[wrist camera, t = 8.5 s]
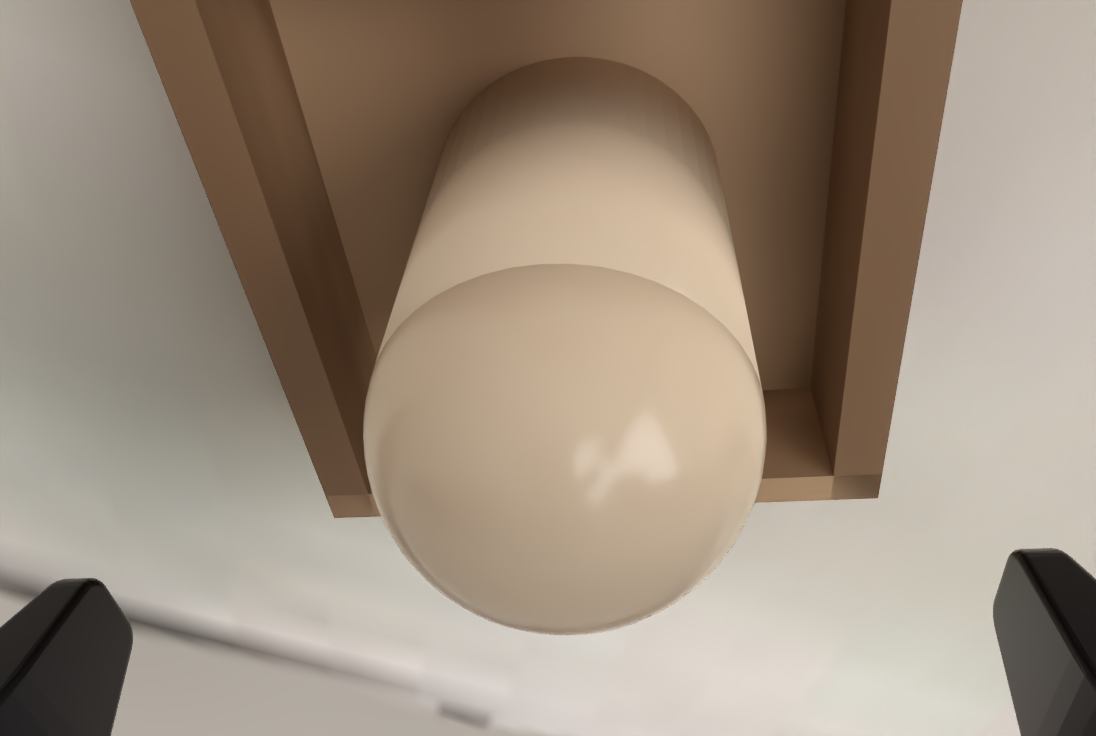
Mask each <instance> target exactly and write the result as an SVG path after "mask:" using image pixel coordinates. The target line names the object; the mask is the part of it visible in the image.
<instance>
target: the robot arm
mask: <svg viewBox="0 0 1096 736" xmlns="http://www.w3.org/2000/svg"><path fill="white" fill-rule="evenodd" d="M993 619H994V626H995V631H996V635H997V639H998V643H999V647H1000V651H1001V655H1002V659H1003V663H1004V667H1005V672H1006V676H1007V680H1008V684H1009V688H1010V692H1011V696H1012V700H1013V704H1014V709H1015V713H1016V717H1017V721H1018V725H1019V729H1020V733H1021V736H1096V579H1095V578H1094V577H1093V576H1092V575H1091V574H1090V573H1088V572H1087V571H1086V570H1085V569H1084V568H1083V567H1082V566H1081V565H1079V564H1078V563H1077V562H1076V561H1075V560H1074V559H1073V558H1071V557H1070V556H1069V555H1068V554H1066V553H1065V552H1063V551H1061V550H1058V549H1053V548H1043V549H1019V550H1015V551H1014V552H1012V553H1011V554H1010V556H1009V558H1008V560H1007V563H1006V566H1005V569H1004V572H1003V575H1002V578H1001V581H1000V584H999V588H998V591H997V594H996V597H995V600H994V605H993ZM132 644H133V633H132V627H131V624H130V622H129V620H128V619H127V617H126V616H125V614H124V613H123V611H122V610H121V608H120V607H119V605H118V604H117V602H116V601H115V599H114V598H113V597H112V595H111V594H110V592H109V591H108V589H107V588H106V586H105V585H104V584H103V583H102V582H101V581H99V580H97V579H94V578H81V579H63V580H59V581H56V582H55V583H53V584H51V585H50V586H49V587H47V588H46V589H45V590H44V591H42V592H41V593H40V594H39V595H38V596H37V597H35V598H34V599H33V600H32V601H31V602H30V603H28V604H27V605H26V606H25V607H24V608H22V609H21V610H20V611H19V612H18V613H17V614H15V615H14V616H13V617H12V618H11V619H10V620H8V621H7V622H6V623H5V624H4V625H3V626H1V627H0V736H111V732H112V728H113V724H114V720H115V716H116V711H117V708H118V703H119V699H120V695H121V691H122V687H123V683H124V679H125V674H126V670H127V666H128V662H129V658H130V653H131V650H132Z"/></svg>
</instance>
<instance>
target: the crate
mask: <svg viewBox="0 0 1096 736" xmlns="http://www.w3.org/2000/svg"><path fill="white" fill-rule="evenodd" d="M962 1H963V0H130V2H131V4H132V7H133V9H134V12H135V15H136V17H137V20H138V22H139V25H140V27H141V30H142V32H143V35H144V37H145V40H146V42H147V45H148V47H149V50H150V52H151V55H152V58H153V60H154V63H155V65H156V68H157V70H158V73H159V75H160V78H161V80H162V83H163V85H164V88H165V90H166V93H167V96H168V98H169V101H170V103H171V106H172V108H173V111H174V113H175V116H176V118H177V121H178V123H179V126H180V128H181V131H182V133H183V136H184V139H185V141H186V144H187V146H188V149H189V151H190V154H191V156H192V159H193V161H194V164H195V166H196V169H197V171H198V174H199V177H200V179H201V182H202V184H203V187H204V189H205V192H206V194H207V197H208V199H209V202H210V204H211V207H212V209H213V212H214V214H215V217H216V220H217V222H218V225H219V227H220V230H221V232H222V235H223V237H224V240H225V242H226V245H227V247H228V250H229V252H230V255H231V258H232V260H233V263H234V265H235V268H236V270H237V273H238V275H239V278H240V280H241V283H242V285H243V288H244V290H245V293H246V295H247V298H248V301H249V303H250V306H251V308H252V311H253V313H254V316H255V318H256V321H257V323H258V326H259V328H260V331H261V333H262V336H263V339H264V341H265V344H266V346H267V349H268V351H269V354H270V356H271V359H272V361H273V364H274V366H275V369H276V371H277V374H278V376H279V379H280V382H281V384H282V387H283V389H284V392H285V394H286V397H287V399H288V402H289V404H290V407H291V409H292V412H293V414H294V417H295V420H296V422H297V425H298V427H299V430H300V432H301V435H302V437H303V440H304V442H305V445H306V447H307V450H308V452H309V455H310V457H311V460H312V463H313V465H314V468H315V470H316V473H317V475H318V478H319V480H320V483H321V485H322V488H323V490H324V493H325V495H326V498H327V500H328V503H329V506H330V508H331V511H332V513H333V516H334V518H344V517H372V516H381V514H380V512H379V510H378V507H377V505H376V502H375V499H374V497H373V494H372V491H371V487H370V483H369V479H368V474H367V468H366V463H365V457H364V443H363V422H364V411H365V402H366V397H367V392H368V387H369V383H370V379H371V376H372V373H373V369H374V366H375V363H376V360H377V357H378V353H379V350H380V347H381V344H382V341H383V338H384V335H385V331H386V328H387V325H388V322H389V319H390V316H391V313H392V309H393V306H394V303H395V300H396V297H397V294H398V291H399V288H400V284H401V281H402V278H403V275H404V272H405V269H406V266H407V262H408V259H409V256H410V253H411V250H412V247H413V244H414V241H415V237H416V234H417V231H418V228H419V225H420V222H421V219H422V215H423V212H424V209H425V206H426V203H427V200H428V197H429V194H430V190H431V187H432V184H433V181H434V178H435V175H436V172H437V168H438V165H439V162H440V159H441V156H442V153H443V150H444V146H445V143H446V140H447V138H448V136H449V134H450V132H451V130H452V128H453V126H454V124H455V122H456V121H457V119H458V118H459V116H460V115H461V113H462V112H463V110H464V109H465V108H466V107H467V106H468V105H469V104H470V103H471V101H472V100H473V99H474V98H475V97H476V96H477V95H478V94H480V93H481V92H482V91H483V90H484V89H486V88H487V87H488V86H489V85H490V84H492V83H493V82H495V81H497V80H498V79H500V78H501V77H503V76H505V75H506V74H508V73H511V72H513V71H515V70H517V69H520V68H522V67H524V66H527V65H530V64H534V63H537V62H540V61H544V60H550V59H556V58H563V57H591V58H601V59H607V60H611V61H615V62H620V63H624V64H626V65H629V66H632V67H634V68H637V69H640V70H642V71H644V72H646V73H648V74H650V75H651V76H653V77H655V78H657V79H659V80H660V81H662V82H663V83H665V84H666V85H667V86H669V87H670V88H671V89H673V90H674V91H675V92H676V93H677V94H678V95H679V96H681V97H682V98H683V99H684V100H685V101H686V102H687V103H688V104H689V106H690V107H691V108H692V109H693V111H694V112H695V113H696V115H697V116H698V117H699V118H700V120H701V122H702V124H703V125H704V127H705V129H706V131H707V132H708V134H709V137H710V139H711V142H712V145H713V147H714V150H715V153H716V158H717V163H718V167H719V172H720V177H721V182H722V187H723V193H724V198H725V203H726V208H727V213H728V218H729V223H730V228H731V233H732V239H733V244H734V249H735V254H736V259H737V264H738V269H739V274H740V279H741V285H742V290H743V295H744V300H745V305H746V310H747V315H748V320H749V325H750V331H751V336H752V341H753V346H754V351H755V356H756V361H757V366H758V371H759V377H760V382H761V387H762V392H763V397H764V403H765V414H766V431H767V443H766V453H765V461H764V468H763V475H762V479H761V483H760V486H759V489H758V493H757V496H756V499H755V502H754V503H757V502H784V501H812V500H839V499H867V498H878V495H879V489H880V483H881V477H882V471H883V465H884V459H885V453H886V448H887V442H888V436H889V430H890V424H891V418H892V412H893V406H894V401H895V395H896V389H897V383H898V377H899V371H900V365H901V359H902V354H903V348H904V342H905V336H906V330H907V324H908V318H909V312H910V307H911V301H912V295H913V289H914V283H915V277H916V271H917V265H918V260H919V254H920V248H921V242H922V236H923V230H924V224H925V218H926V213H927V207H928V201H929V195H930V189H931V183H932V177H933V171H934V166H935V160H936V154H937V148H938V142H939V136H940V130H941V124H942V119H943V113H944V107H945V101H946V95H947V89H948V83H949V77H950V72H951V66H952V60H953V54H954V48H955V42H956V36H957V30H958V25H959V19H960V13H961V7H962Z"/></svg>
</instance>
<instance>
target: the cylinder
mask: <svg viewBox="0 0 1096 736" xmlns="http://www.w3.org/2000/svg"><path fill="white" fill-rule="evenodd" d="M363 443H364V457H365V463H366V468H367V474H368V479H369V483H370V487H371V491H372V494H373V497H374V499H375V502H376V505H377V507H378V510H379V512H380V514H381V517H382V519H383V521H384V524H385V526H386V528H387V529H388V531H389V532H390V534H391V536H392V537H393V539H394V540H395V542H396V544H397V545H398V547H399V548H400V550H401V551H402V553H403V554H404V556H405V557H406V558H407V559H408V561H409V562H410V563H411V564H412V565H413V566H414V568H415V569H416V570H417V571H418V572H419V573H420V574H421V575H422V576H423V577H424V578H425V579H426V580H427V581H428V582H429V583H430V584H431V585H433V586H434V587H435V588H436V589H437V590H438V591H439V592H441V593H442V594H444V595H445V596H446V597H448V598H449V599H451V600H452V601H454V602H455V603H457V604H458V605H460V606H462V607H463V608H465V609H467V610H469V611H470V612H472V613H474V614H476V615H478V616H480V617H482V618H484V619H487V620H489V621H491V622H494V623H497V624H500V625H503V626H506V627H510V628H514V629H517V630H521V631H527V632H533V633H540V634H550V635H582V634H592V633H599V632H605V631H609V630H614V629H618V628H621V627H624V626H628V625H631V624H634V623H636V622H638V621H640V620H643V619H645V618H647V617H650V616H652V615H654V614H656V613H658V612H660V611H662V610H664V609H666V608H667V607H669V606H671V605H673V604H674V603H676V602H677V601H678V600H680V599H681V598H682V597H684V596H685V595H686V594H688V593H689V592H690V591H691V590H693V589H694V588H695V587H696V586H698V585H699V584H700V583H701V582H702V581H703V580H704V579H705V578H706V577H707V576H708V575H709V574H711V573H712V571H713V570H714V569H715V568H716V566H717V565H718V564H719V563H720V561H721V560H722V559H723V558H724V556H725V555H726V554H727V553H728V551H729V550H730V549H731V548H732V546H733V545H734V543H735V541H736V539H737V538H738V536H739V534H740V532H741V530H742V528H743V527H744V525H745V523H746V521H747V519H748V517H749V515H750V513H751V511H752V508H753V505H754V502H755V499H756V496H757V493H758V489H759V486H760V483H761V479H762V475H763V468H764V461H765V453H766V443H767V431H766V414H765V403H764V397H763V392H762V387H761V382H760V377H759V371H758V366H757V361H756V356H755V351H754V346H753V341H752V336H751V331H750V325H749V320H748V315H747V310H746V305H745V300H744V295H743V290H742V285H741V279H740V274H739V269H738V264H737V259H736V254H735V249H734V244H733V239H732V233H731V228H730V223H729V218H728V213H727V208H726V203H725V198H724V193H723V187H722V182H721V177H720V172H719V167H718V163H717V158H716V153H715V150H714V147H713V145H712V142H711V139H710V137H709V134H708V132H707V131H706V129H705V127H704V125H703V124H702V122H701V120H700V118H699V117H698V116H697V115H696V113H695V112H694V111H693V109H692V108H691V107H690V106H689V104H688V103H687V102H686V101H685V100H684V99H683V98H682V97H681V96H679V95H678V94H677V93H676V92H675V91H674V90H673V89H671V88H670V87H669V86H667V85H666V84H665V83H663V82H662V81H660V80H659V79H657V78H655V77H653V76H651V75H650V74H648V73H646V72H644V71H642V70H640V69H637V68H634V67H632V66H629V65H626V64H624V63H620V62H615V61H611V60H607V59H601V58H591V57H563V58H556V59H550V60H544V61H540V62H537V63H534V64H530V65H527V66H524V67H522V68H520V69H517V70H515V71H513V72H511V73H508V74H506V75H505V76H503V77H501V78H500V79H498V80H497V81H495V82H493V83H492V84H490V85H489V86H488V87H487V88H486V89H484V90H483V91H482V92H481V93H480V94H478V95H477V96H476V97H475V98H474V99H473V100H472V101H471V103H470V104H469V105H468V106H467V107H466V108H465V109H464V110H463V112H462V113H461V115H460V116H459V118H458V119H457V121H456V122H455V124H454V126H453V128H452V130H451V132H450V134H449V136H448V138H447V140H446V143H445V146H444V150H443V153H442V156H441V159H440V162H439V165H438V168H437V172H436V175H435V178H434V181H433V184H432V187H431V190H430V194H429V197H428V200H427V203H426V206H425V209H424V212H423V215H422V219H421V222H420V225H419V228H418V231H417V234H416V237H415V241H414V244H413V247H412V250H411V253H410V256H409V259H408V262H407V266H406V269H405V272H404V275H403V278H402V281H401V284H400V288H399V291H398V294H397V297H396V300H395V303H394V306H393V309H392V313H391V316H390V319H389V322H388V325H387V328H386V331H385V335H384V338H383V341H382V344H381V347H380V350H379V353H378V357H377V360H376V363H375V366H374V369H373V373H372V376H371V379H370V383H369V387H368V392H367V397H366V402H365V411H364V422H363Z"/></svg>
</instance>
